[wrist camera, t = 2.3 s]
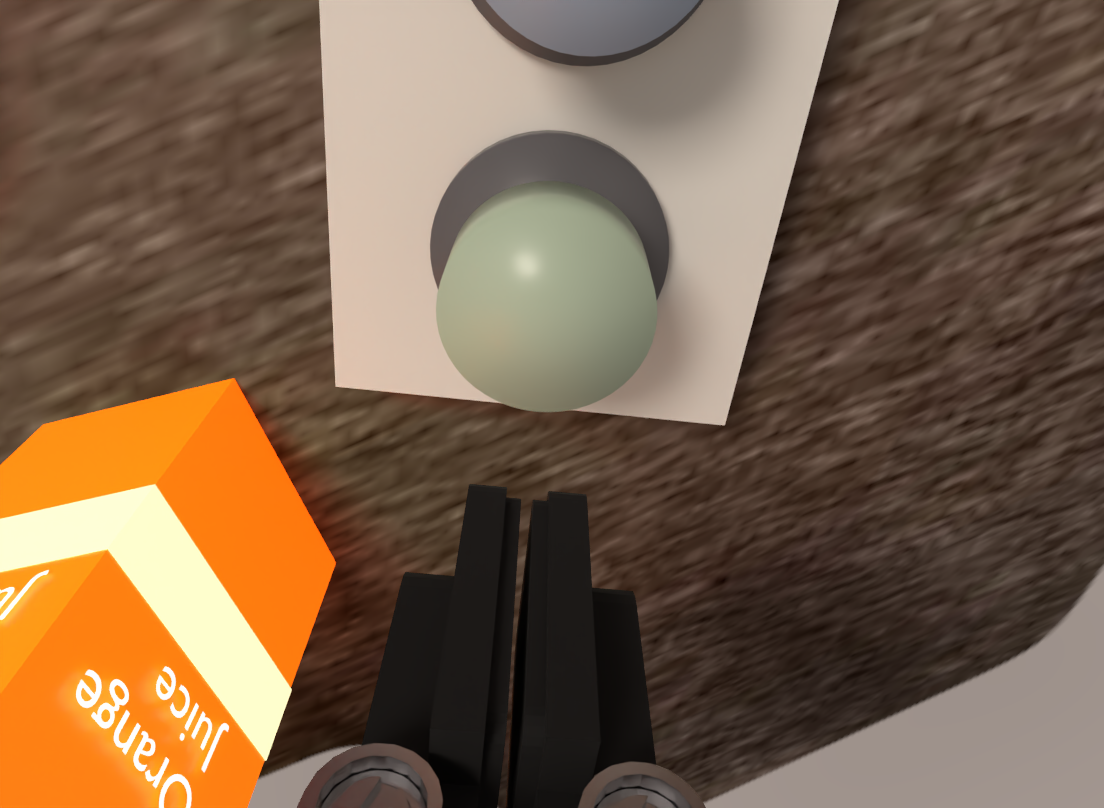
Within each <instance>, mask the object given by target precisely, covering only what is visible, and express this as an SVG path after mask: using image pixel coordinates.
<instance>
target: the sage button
mask: <svg viewBox="0 0 1104 808" xmlns="http://www.w3.org/2000/svg"><path fill="white" fill-rule="evenodd" d="M436 320H437V326H438V331H439V335H440V338H441V341H442V344H443V347H444V349H445V351H446V353H447V355H448V357H449V359H450V360H451V362H452V363H453V365H454V366H455V368H456V369H457V370H458V371H459V372H460V374H461V375H462V376H463V377H464V378H465V379H466V380H467V381H468V382H469V383H470V384H472V385H473V386H474V387H475V388H476V389H478V390H479V391H481V392H482V393H484V394H485V395H487V396H489V397H490V398H492V399H494V400H496V401H498V402H501V403H503V404H506V405H508V406H511V407H515V408H519V409H522V410H528V411H535V412H560V411H567V410H573V409H577V408H581V407H584V406H587V405H590V404H592V403H595V402H597V401H599V400H601V399H603V398H605V397H607V396H608V395H610V394H612V393H613V392H615V391H616V390H617V389H619V388H620V387H621V386H623V385H624V384H625V383H626V382H627V381H628V380H629V379H630V378H631V377H632V376H633V375H634V373H635V372H636V371H637V370H638V368H639V367H640V366H641V364H642V362H643V361H644V359H645V357H646V356H647V354H648V352H649V349H650V347H651V345H652V342H653V338H654V335H655V331H656V324H657V300H656V294H655V289H654V285H653V281H652V277H651V273H650V268H649V264H648V260H647V256H646V253H645V250H644V247H643V243H642V241H641V239H640V237H639V235H638V233H637V231H636V229H635V228H634V226H633V225H632V223H631V222H630V220H629V219H628V218H627V217H626V216H625V215H624V213H623V212H622V211H621V210H620V209H619V208H617V207H616V206H615V205H614V204H613V203H612V202H610V201H609V200H607V199H606V198H604V197H603V196H601V195H600V194H598V193H596V192H594V191H591V190H589V189H587V188H584V187H581V186H578V185H575V184H571V183H565V182H560V181H538V182H530V183H525V184H520V185H517V186H514V187H511V188H509V189H506V190H504V191H502V192H500V193H498V194H496V195H494V196H493V197H491V198H490V199H488V200H487V201H486V202H484V203H483V204H482V205H480V206H479V207H478V208H477V209H476V210H475V211H474V212H473V213H472V214H471V216H470V217H469V218H468V219H467V221H466V222H465V223H464V225H463V226H462V228H461V230H460V231H459V233H458V235H457V237H456V240H455V242H454V245H453V247H452V250H451V253H450V256H449V259H448V261H447V264H446V267H445V270H444V273H443V275H442V278H441V281H440V285H439V289H438V293H437V302H436Z"/></svg>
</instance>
